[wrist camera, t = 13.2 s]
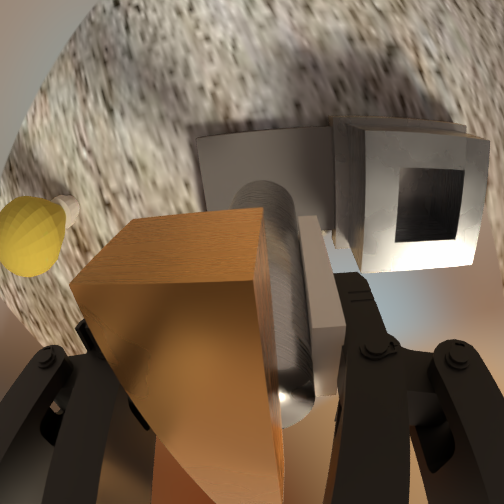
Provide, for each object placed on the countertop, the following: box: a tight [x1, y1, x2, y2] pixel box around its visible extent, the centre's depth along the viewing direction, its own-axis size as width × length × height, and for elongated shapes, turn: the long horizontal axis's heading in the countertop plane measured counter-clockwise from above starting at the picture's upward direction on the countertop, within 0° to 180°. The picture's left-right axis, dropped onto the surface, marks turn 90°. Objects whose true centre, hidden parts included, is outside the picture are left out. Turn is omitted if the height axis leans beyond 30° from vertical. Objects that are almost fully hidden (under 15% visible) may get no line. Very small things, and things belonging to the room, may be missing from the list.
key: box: [69, 180, 315, 504], centre depth 11 cm, size 9×4×14 cm, turn 7°
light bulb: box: [0, 195, 80, 277], centre depth 21 cm, size 7×7×10 cm
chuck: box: [328, 116, 490, 273], centre depth 19 cm, size 11×10×6 cm
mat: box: [196, 126, 334, 231], centre depth 22 cm, size 10×8×1 cm
